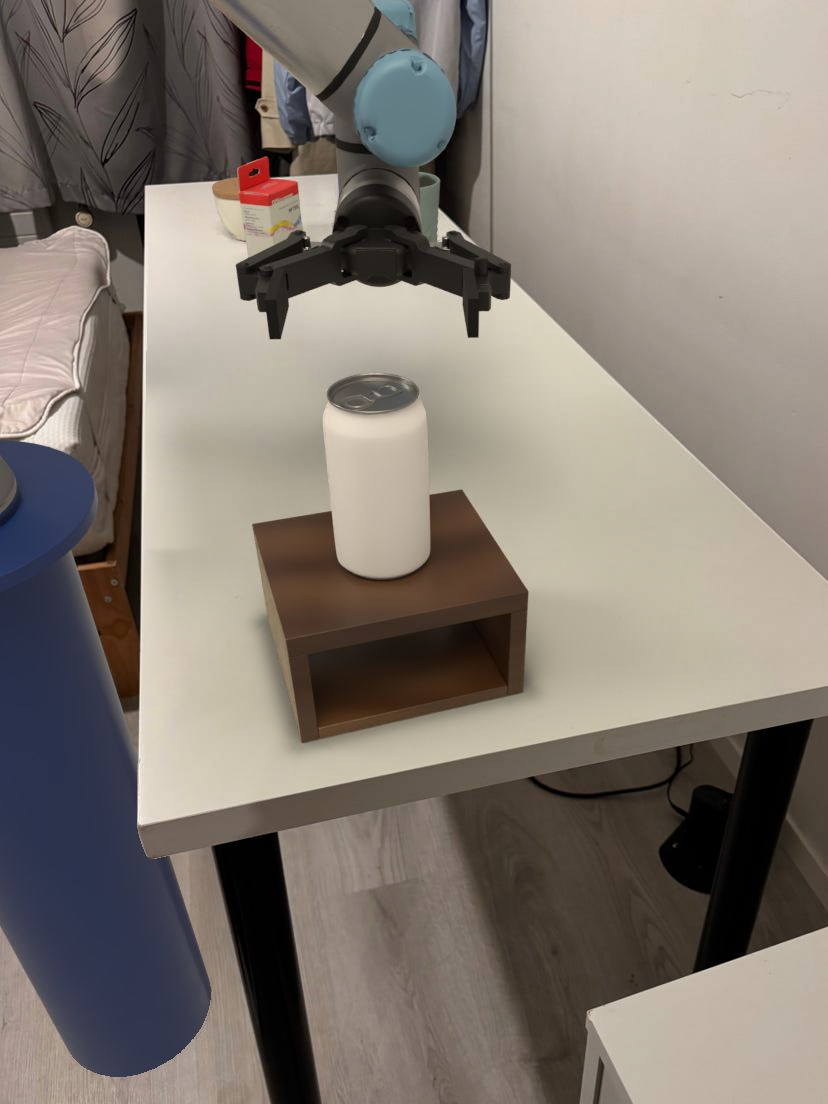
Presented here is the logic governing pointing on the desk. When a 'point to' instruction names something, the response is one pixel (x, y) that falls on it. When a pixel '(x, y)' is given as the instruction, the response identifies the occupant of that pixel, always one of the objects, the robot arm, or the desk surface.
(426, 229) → the green embossed cup
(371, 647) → the shelf
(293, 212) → the ink box
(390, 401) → the can
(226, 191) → the trinket box
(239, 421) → the desk surface
